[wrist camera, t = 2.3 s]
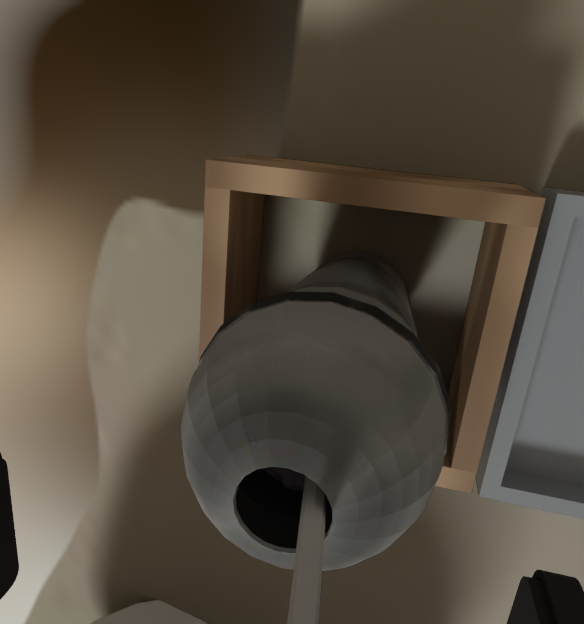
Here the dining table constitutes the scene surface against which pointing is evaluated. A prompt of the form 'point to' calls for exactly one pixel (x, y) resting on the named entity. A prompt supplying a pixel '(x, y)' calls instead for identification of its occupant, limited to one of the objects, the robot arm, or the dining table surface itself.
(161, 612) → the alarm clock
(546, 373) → the tray
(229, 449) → the beverage cup
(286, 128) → the dining table surface
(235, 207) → the holder
